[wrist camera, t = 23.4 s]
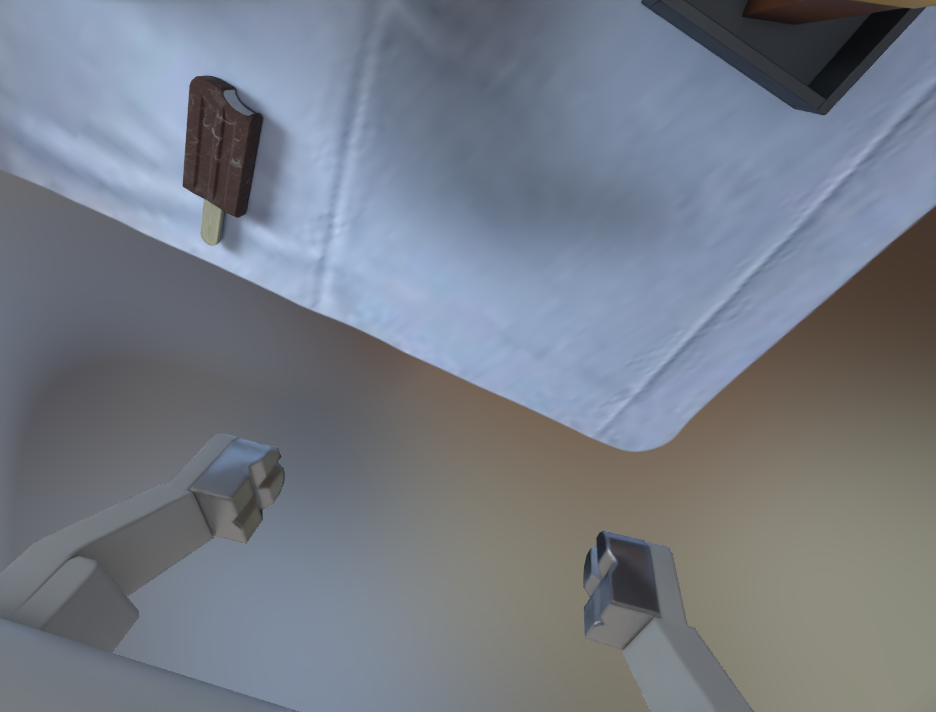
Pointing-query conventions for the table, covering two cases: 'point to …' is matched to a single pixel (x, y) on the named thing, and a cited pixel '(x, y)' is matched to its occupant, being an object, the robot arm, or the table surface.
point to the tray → (790, 47)
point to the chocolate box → (822, 9)
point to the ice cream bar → (219, 152)
